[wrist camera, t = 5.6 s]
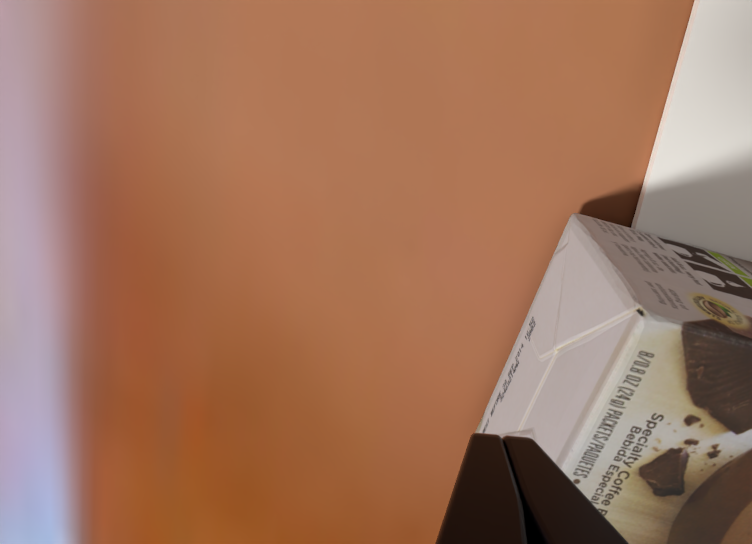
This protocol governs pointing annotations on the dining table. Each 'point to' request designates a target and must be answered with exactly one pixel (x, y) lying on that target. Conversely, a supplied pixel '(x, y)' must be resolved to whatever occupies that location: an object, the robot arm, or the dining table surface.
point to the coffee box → (639, 382)
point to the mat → (706, 137)
